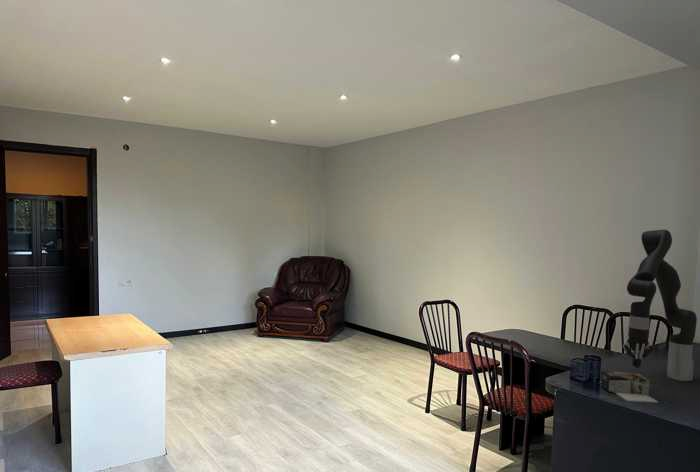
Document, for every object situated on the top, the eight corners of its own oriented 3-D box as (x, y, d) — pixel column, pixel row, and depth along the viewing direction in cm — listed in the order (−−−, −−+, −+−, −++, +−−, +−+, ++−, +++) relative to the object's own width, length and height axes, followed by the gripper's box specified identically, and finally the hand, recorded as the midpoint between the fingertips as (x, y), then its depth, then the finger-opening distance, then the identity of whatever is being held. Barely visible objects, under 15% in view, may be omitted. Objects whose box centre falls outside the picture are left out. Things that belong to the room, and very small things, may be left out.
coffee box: (650, 380, 202) (609, 377, 204) (648, 395, 202) (608, 391, 204) (639, 373, 211) (601, 370, 213) (638, 387, 211) (599, 384, 213)
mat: (627, 384, 217) (627, 383, 217) (657, 402, 195) (657, 401, 195) (599, 383, 217) (599, 381, 217) (627, 401, 195) (627, 400, 195)
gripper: (649, 325, 209) (646, 365, 209) (618, 324, 209) (615, 363, 209) (660, 329, 201) (657, 370, 202) (628, 328, 201) (625, 368, 202)
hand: (636, 367), depth 206 cm, fingers closed
